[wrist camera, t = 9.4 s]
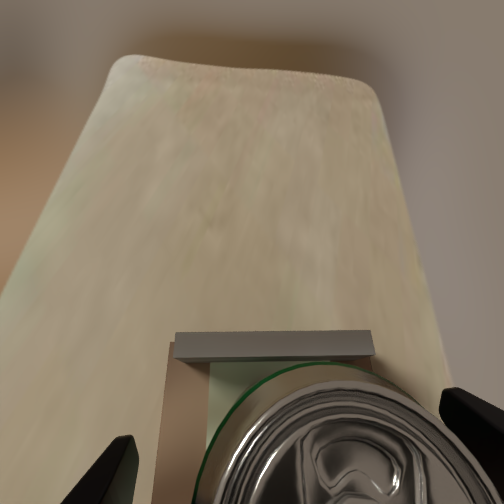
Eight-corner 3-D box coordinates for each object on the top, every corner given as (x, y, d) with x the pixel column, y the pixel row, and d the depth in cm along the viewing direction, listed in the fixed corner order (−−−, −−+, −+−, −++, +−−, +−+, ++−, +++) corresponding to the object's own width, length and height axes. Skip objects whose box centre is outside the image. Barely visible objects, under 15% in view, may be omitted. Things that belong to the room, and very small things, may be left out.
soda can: (321, 384, 15) (503, 372, 5) (323, 500, 13) (702, 1027, 2) (232, 374, 15) (208, 340, 5) (218, 488, 13) (108, 938, 2)
